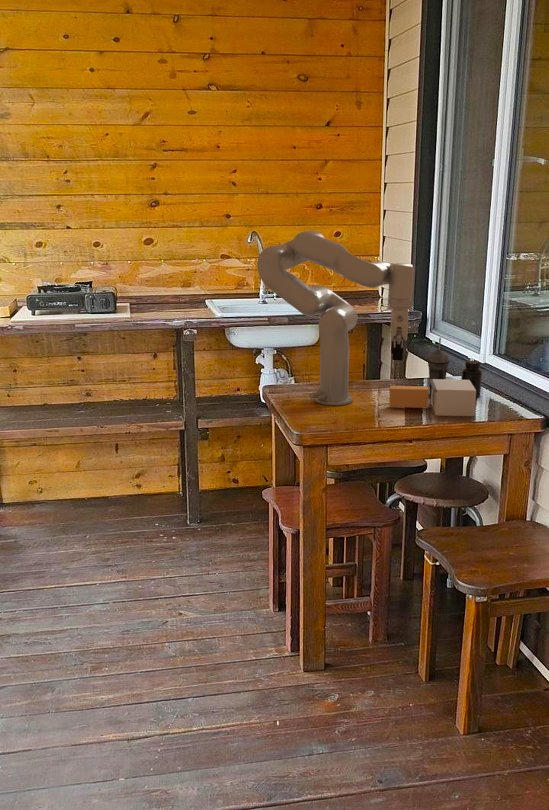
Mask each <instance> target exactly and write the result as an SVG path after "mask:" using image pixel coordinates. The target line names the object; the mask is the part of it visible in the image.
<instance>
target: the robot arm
mask: <svg viewBox="0 0 549 810" xmlns="http://www.w3.org/2000/svg"><path fill="white" fill-rule="evenodd" d="M307 261H308V262H310V263H313V264H316V265H318V266H321V267H323V268H326V269H328V270H330V271H333V272H334V273H335V274H337V275H339V276H341V277H342V278H344V279H346V280H349V281H351V282H354V283H355V284H358V285H361V286H363V287H366V288H371V289H374V288H379V287H380V286H384V285H388V293H387V294H388V296H387V308H388V309H390V310H391V311H390V312H391V313H390V336H391V340H392V341H391V351H390V353H391V354H392V356H391V357H392V358H391V359H392V361H403V358H404V357H403V355H404V346H403V344H404V343H403V342H404V341H405V342H406V341H408V333H409V332H408V331H409V329H408V328H409V310H412V309H413V292H414V280H415V279H414V278H415V277H414V276H415V267H414V265H413V264H411V263H405V262H404V263H403V262H400V263H399V262H396V263H393V262H387V261H379V260H378V261H375V262H370V261H367V260H364V259H362V258H359V257H357V256H356V255H353V254H352V253H350V252H349V251H348V250H347V248H346V247H345V246H344V245H343V244H341V243H338V242H335V241H333V240H329V239H327V238H325V237H324V235H323V234H322V233H321V232H319V231H317V230H306V231H300V232H299V233H297V234H296V235H295V236H294V238H293V239H291V240H288V241H287V242H285V243H282V244H276V245H272V246H267V247H264V249H263V250H261V252H260V253H259V255H258V258H257V262H256V268H257V273H258V277H259V278H260V279H261V281H262V283H263V284H264V285H265V287H267V288H268V289H269V290H270V291H272V292H273V293H274V294H276V295H277V296H279V297H280V298H281V299H283V301H285V302H286V303H287V304H289V305H290V306H291V307H293V308H294V309H295V310H297V311H298V312H299V313H300V314H301V315H304V316H306V317H315V316H318V317H320V318H319V321H318V332H319V346H320V347H319V349H320V353H319V357H320V358H319V360H320V361H319V362H320V365H319V368H320V369H319V371H320V372H319V387H318V388H317V390H316V392H312V393H309V395H308V398H309V399H310V400H313V399H314V400H315V403H318V404H321V405H325V406H345V405H349V404H351V403H353V399H354V398H353V396H351V395H349V377H350V376H349V372H350V371H349V370H350V339H349V332H350V331H351V330H353V329H354V328H355V327H356V325H357V323H358V313H357V311H356V309H355V308H354V307H353V306H352V305H351V304H350V303H349V302H347V301H346V300H344V299H343V298H342V297H341V296H339V295H338V294H336V293H335V292H333V291H332V289H329V288H328V287H325V286H323V285H312V286H311V285H308V284H307V283H305V282H304V281H302V280H301V279H300V278H298V277H297V276H295V274H292V273H290V272H289V271H287V270H288V269H292V268H294V267H296V266H298V265H301V264H302V263H305V262H307Z"/></svg>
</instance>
